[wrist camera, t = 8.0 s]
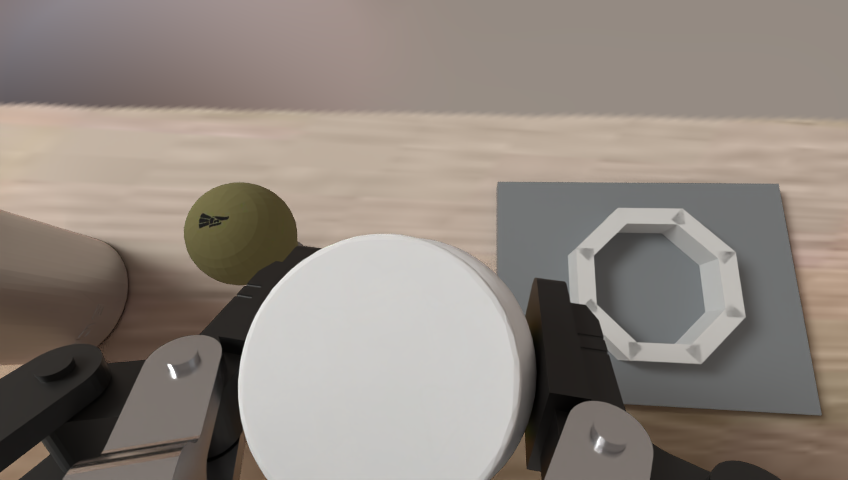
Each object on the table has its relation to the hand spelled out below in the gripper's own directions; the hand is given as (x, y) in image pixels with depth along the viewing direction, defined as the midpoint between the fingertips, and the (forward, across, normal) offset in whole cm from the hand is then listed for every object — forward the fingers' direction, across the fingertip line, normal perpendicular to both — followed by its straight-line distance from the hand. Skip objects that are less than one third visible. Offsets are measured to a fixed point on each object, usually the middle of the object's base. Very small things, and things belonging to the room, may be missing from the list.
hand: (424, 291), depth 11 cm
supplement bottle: (+2, 0, +5) cm, 5 cm away
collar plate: (+15, -12, +9) cm, 21 cm away
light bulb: (+14, +11, +10) cm, 21 cm away
